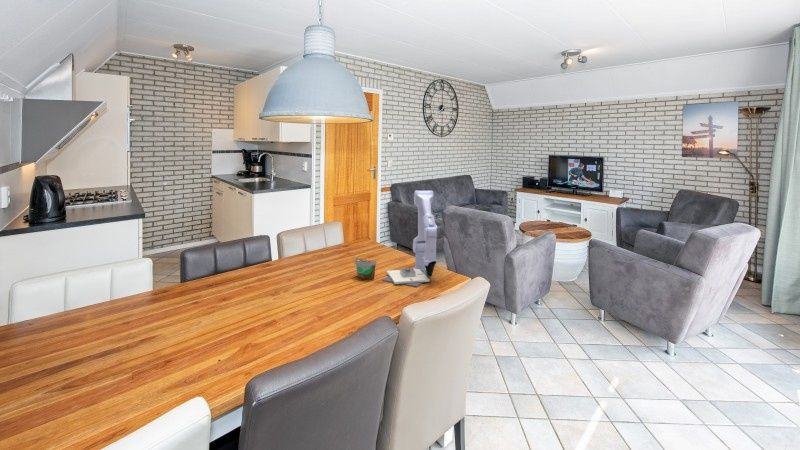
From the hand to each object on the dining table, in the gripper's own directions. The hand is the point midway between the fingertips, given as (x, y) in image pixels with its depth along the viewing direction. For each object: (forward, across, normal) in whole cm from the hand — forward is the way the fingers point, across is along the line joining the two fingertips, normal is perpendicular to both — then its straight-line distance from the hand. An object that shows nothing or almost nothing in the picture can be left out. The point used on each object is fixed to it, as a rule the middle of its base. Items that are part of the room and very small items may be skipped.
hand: (429, 275), depth 209 cm
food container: (+3, +11, -32) cm, 34 cm away
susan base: (+3, +1, -12) cm, 12 cm away
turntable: (+2, +1, -10) cm, 11 cm away
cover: (+1, +1, -12) cm, 12 cm away
